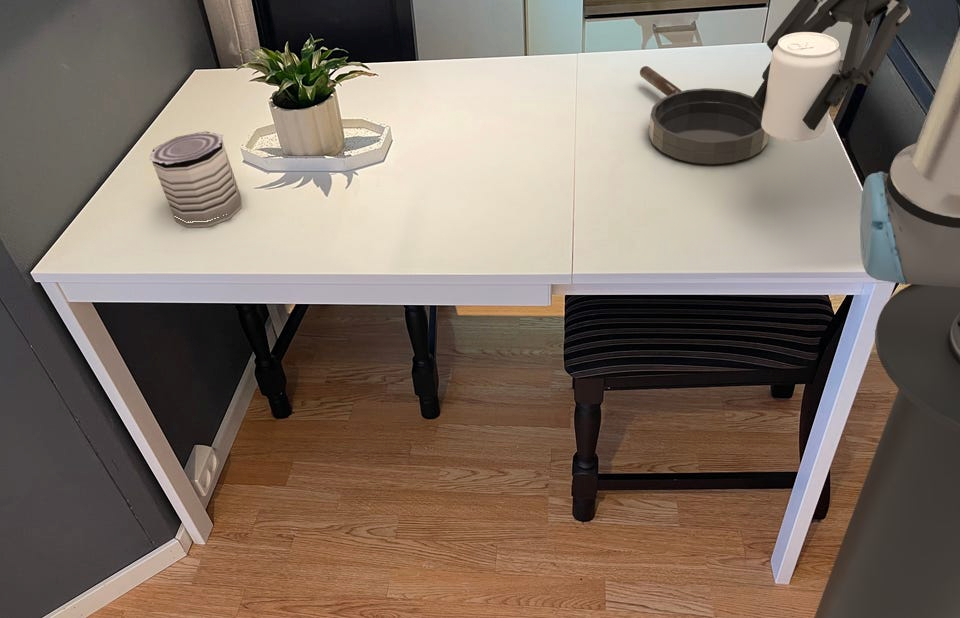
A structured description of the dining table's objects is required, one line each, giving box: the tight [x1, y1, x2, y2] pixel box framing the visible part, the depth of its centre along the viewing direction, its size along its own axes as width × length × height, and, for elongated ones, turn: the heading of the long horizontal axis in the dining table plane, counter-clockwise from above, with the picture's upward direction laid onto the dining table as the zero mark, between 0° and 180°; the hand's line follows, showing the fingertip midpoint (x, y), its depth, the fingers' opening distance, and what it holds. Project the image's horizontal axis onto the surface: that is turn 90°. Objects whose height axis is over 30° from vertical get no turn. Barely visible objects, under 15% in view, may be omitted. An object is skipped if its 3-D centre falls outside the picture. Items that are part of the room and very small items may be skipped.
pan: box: [648, 87, 770, 165], centre depth 133 cm, size 19×19×4 cm
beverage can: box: [761, 32, 842, 142], centre depth 102 cm, size 8×8×12 cm
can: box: [148, 130, 243, 229], centre depth 127 cm, size 11×11×12 cm
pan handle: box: [639, 65, 682, 97], centre depth 144 cm, size 13×2×2 cm, turn 20°
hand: (782, 114), depth 102 cm, fingers closed on beverage can, 7 cm apart
